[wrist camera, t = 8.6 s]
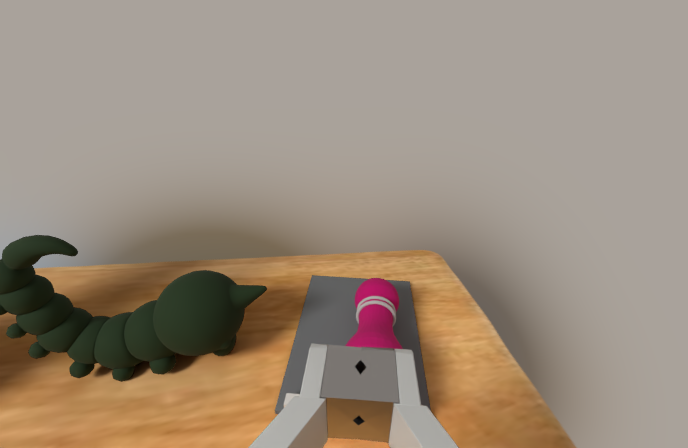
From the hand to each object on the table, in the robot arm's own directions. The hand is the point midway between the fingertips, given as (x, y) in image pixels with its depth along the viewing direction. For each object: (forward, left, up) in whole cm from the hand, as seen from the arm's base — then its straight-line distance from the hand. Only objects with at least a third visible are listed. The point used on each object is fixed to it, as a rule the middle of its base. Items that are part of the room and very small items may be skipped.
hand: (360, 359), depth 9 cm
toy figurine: (-27, +10, -25) cm, 38 cm away
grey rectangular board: (-6, +21, -25) cm, 33 cm away
